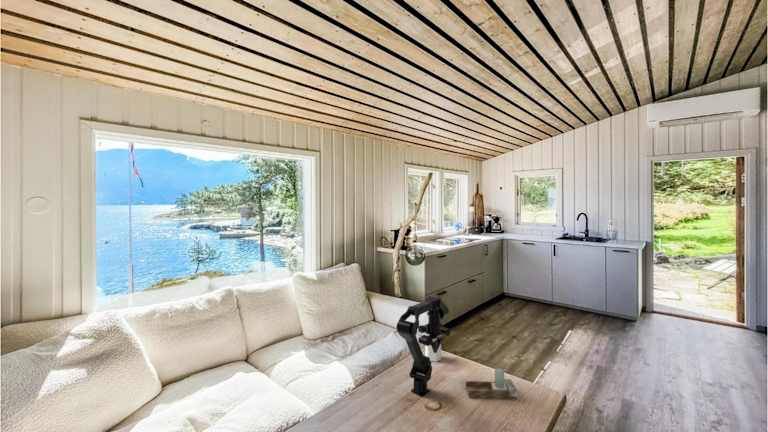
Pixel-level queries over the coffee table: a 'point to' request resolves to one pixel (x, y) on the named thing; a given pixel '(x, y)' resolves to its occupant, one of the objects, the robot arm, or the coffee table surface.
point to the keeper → (499, 380)
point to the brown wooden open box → (490, 390)
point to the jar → (431, 354)
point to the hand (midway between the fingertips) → (435, 352)
